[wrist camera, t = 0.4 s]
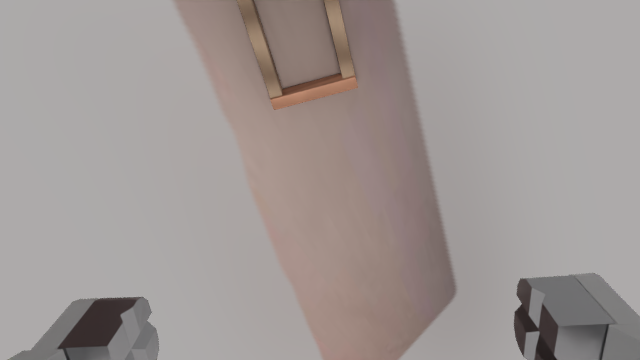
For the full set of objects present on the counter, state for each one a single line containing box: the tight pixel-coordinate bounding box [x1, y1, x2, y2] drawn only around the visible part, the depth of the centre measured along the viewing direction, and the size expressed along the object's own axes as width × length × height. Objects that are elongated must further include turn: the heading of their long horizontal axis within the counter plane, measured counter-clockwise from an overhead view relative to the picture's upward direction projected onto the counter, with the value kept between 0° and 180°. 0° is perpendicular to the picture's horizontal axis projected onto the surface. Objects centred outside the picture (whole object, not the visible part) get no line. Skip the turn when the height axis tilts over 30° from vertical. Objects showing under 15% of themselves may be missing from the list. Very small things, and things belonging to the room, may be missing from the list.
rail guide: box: [237, 0, 358, 110], centre depth 52 cm, size 24×11×2 cm, turn 14°
